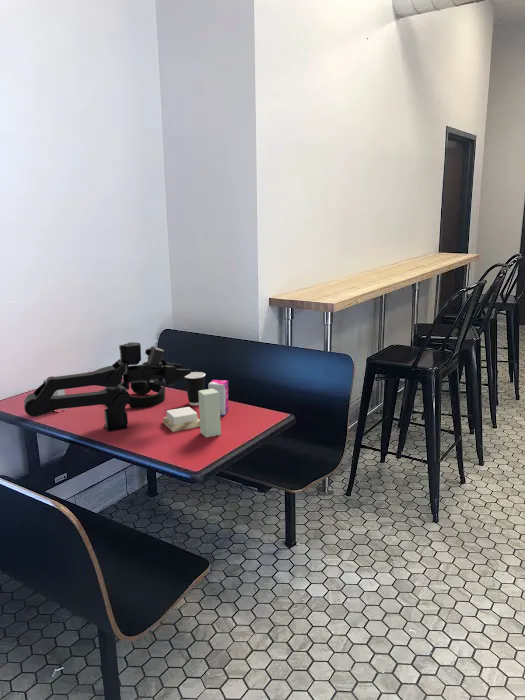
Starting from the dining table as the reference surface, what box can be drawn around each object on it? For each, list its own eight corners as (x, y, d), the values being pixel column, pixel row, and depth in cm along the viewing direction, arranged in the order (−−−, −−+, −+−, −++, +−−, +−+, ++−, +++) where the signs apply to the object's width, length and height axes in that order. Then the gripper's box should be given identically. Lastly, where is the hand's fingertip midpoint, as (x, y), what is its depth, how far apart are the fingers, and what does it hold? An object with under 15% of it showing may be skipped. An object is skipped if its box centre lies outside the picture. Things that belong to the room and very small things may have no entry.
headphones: (142, 371, 233) (175, 384, 221) (142, 389, 236) (175, 403, 223) (104, 381, 220) (137, 396, 208) (104, 400, 223) (137, 416, 210)
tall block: (206, 437, 183) (204, 394, 179) (200, 432, 187) (198, 390, 184) (221, 434, 185) (219, 392, 182) (215, 429, 189) (213, 388, 186)
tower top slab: (174, 424, 189) (174, 417, 189) (167, 417, 196) (166, 410, 196) (197, 420, 193) (197, 413, 192) (189, 413, 200) (189, 406, 199)
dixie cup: (181, 403, 218) (179, 374, 215) (199, 398, 222) (198, 370, 220) (192, 408, 211) (190, 378, 209) (210, 403, 216) (209, 374, 214)
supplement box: (225, 416, 202) (223, 384, 199) (208, 415, 203) (207, 384, 200) (229, 411, 207) (228, 379, 205) (213, 410, 208) (211, 379, 206)
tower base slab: (172, 433, 189) (172, 426, 188) (163, 424, 197) (162, 417, 197) (201, 427, 193) (201, 420, 192) (191, 419, 202) (191, 412, 201)
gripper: (147, 354, 185) (194, 350, 191) (133, 345, 201) (177, 341, 208) (149, 388, 187) (195, 383, 193) (135, 376, 203) (178, 372, 210)
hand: (186, 368), depth 201 cm, fingers open, 9 cm apart
